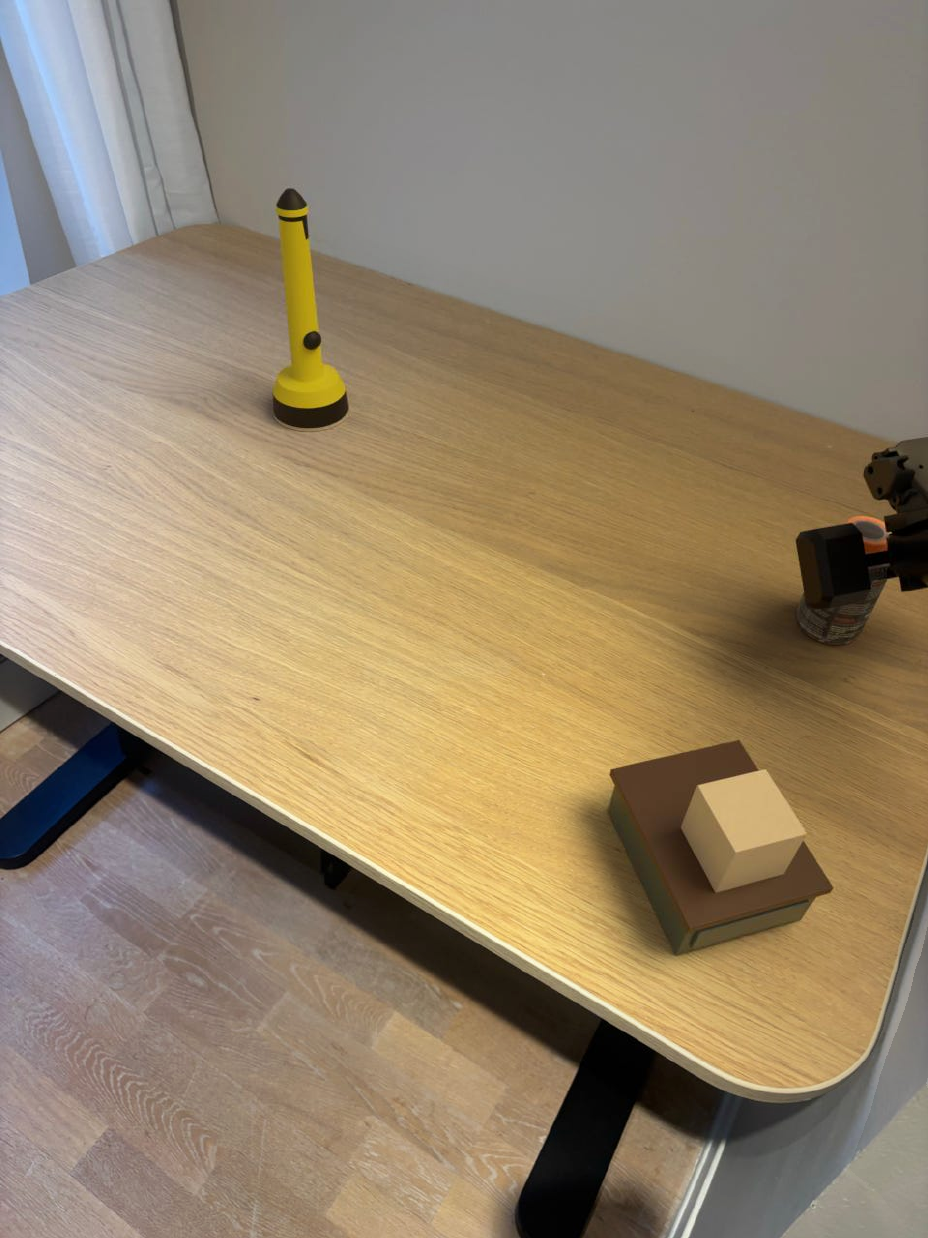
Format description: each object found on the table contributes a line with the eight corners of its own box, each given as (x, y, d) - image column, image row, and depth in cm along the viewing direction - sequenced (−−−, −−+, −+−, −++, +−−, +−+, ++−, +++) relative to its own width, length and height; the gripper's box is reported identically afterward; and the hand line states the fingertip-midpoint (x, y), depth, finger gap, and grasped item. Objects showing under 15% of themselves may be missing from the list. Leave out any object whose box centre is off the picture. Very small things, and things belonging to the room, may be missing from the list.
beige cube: (783, 874, 57) (807, 833, 53) (715, 893, 56) (735, 852, 52) (745, 811, 60) (765, 768, 57) (680, 827, 59) (696, 785, 56)
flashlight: (228, 182, 87) (270, 211, 82) (307, 168, 91) (352, 194, 86) (259, 405, 104) (296, 439, 99) (325, 384, 108) (363, 416, 103)
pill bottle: (860, 611, 82) (907, 516, 74) (859, 654, 78) (909, 558, 70) (795, 595, 84) (835, 500, 76) (791, 637, 80) (833, 541, 72)
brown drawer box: (809, 924, 60) (834, 888, 56) (672, 963, 57) (689, 928, 54) (722, 778, 68) (739, 739, 65) (599, 807, 66) (610, 768, 62)
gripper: (1071, 415, 64) (916, 457, 79) (853, 447, 60) (733, 485, 75) (1095, 564, 64) (935, 578, 79) (880, 607, 60) (755, 613, 75)
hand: (842, 561), depth 77 cm, fingers open, 7 cm apart
